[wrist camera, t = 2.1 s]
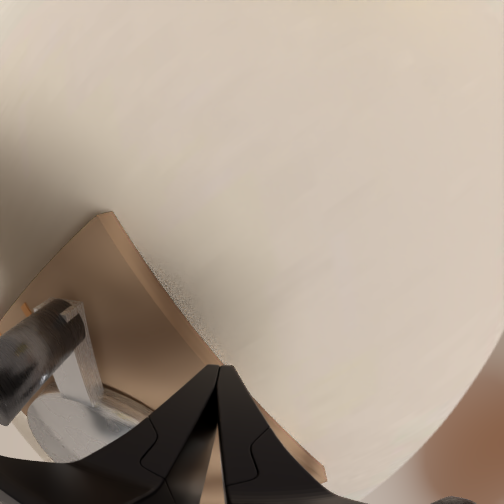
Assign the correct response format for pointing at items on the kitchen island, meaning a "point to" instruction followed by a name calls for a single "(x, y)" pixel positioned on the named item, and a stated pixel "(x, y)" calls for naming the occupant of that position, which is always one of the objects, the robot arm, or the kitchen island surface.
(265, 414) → the walnut board
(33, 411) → the silver disc with handle
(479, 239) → the kitchen island surface
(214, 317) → the kitchen island surface
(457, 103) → the kitchen island surface
